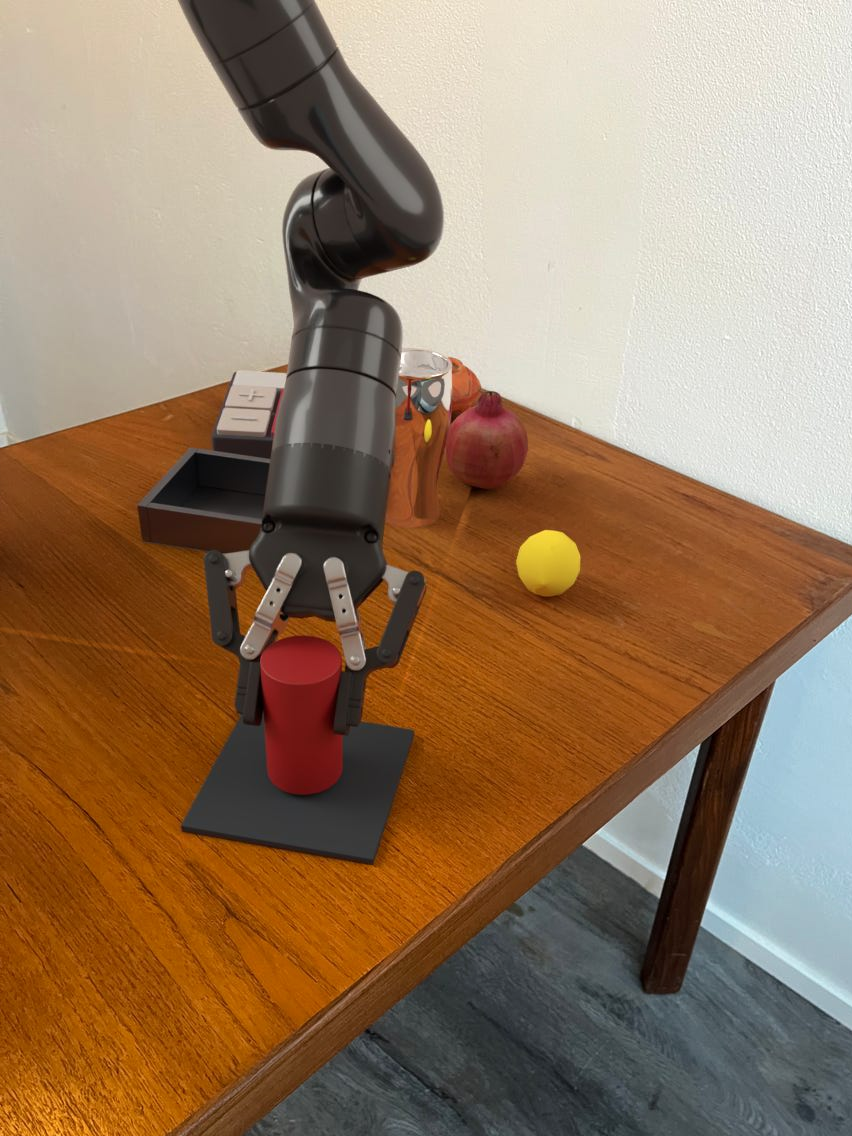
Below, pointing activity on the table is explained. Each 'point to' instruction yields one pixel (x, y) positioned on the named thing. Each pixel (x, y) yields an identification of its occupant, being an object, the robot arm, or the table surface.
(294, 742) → the canister
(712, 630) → the table surface
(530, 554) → the lemon
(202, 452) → the bin
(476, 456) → the fruit
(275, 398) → the calculator
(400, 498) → the beer glass
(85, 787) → the table surface
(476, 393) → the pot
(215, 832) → the mat
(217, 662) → the table surface
